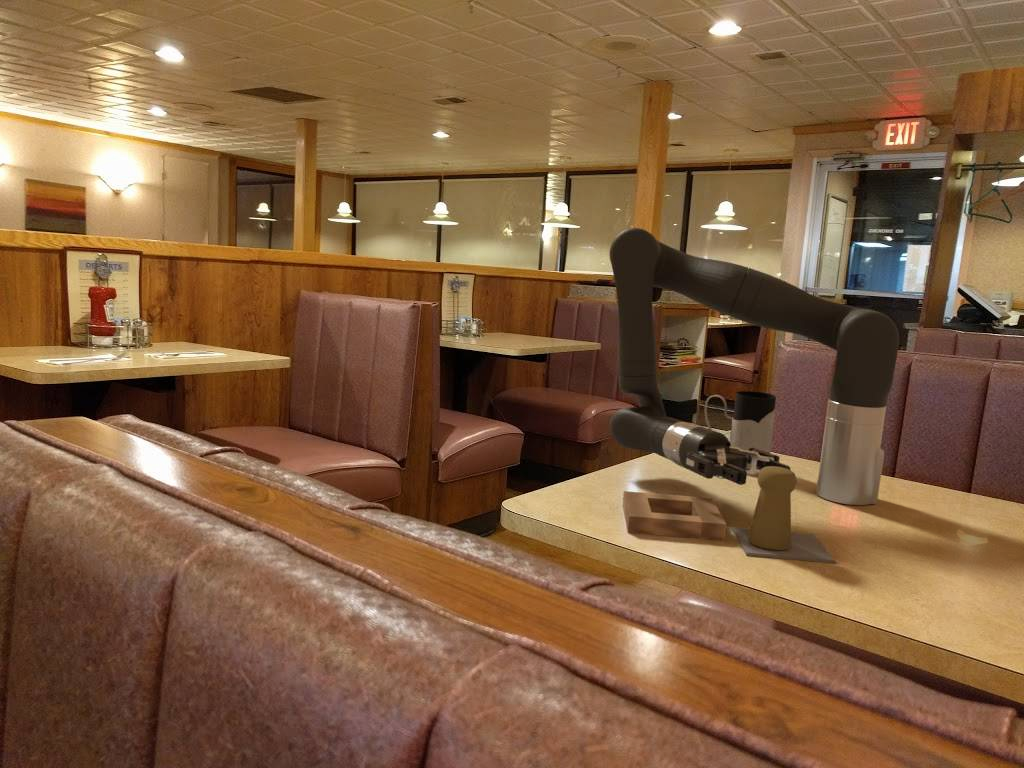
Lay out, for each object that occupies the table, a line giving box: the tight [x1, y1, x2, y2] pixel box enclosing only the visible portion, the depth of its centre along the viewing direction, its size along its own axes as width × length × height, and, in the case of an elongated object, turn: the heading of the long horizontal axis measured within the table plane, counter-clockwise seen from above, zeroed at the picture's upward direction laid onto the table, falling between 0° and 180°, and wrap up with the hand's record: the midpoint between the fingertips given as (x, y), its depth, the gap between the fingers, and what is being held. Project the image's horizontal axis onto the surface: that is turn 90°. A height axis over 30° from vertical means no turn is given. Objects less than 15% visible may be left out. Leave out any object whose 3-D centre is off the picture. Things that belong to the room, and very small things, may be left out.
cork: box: [747, 466, 797, 550], centre depth 108 cm, size 6×6×11 cm
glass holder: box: [704, 390, 777, 476], centre depth 150 cm, size 9×14×15 cm, turn 57°
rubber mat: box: [731, 526, 837, 564], centre depth 109 cm, size 12×10×1 cm
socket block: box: [622, 490, 727, 542], centre depth 116 cm, size 14×12×2 cm
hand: (766, 476), depth 111 cm, fingers open, 8 cm apart
